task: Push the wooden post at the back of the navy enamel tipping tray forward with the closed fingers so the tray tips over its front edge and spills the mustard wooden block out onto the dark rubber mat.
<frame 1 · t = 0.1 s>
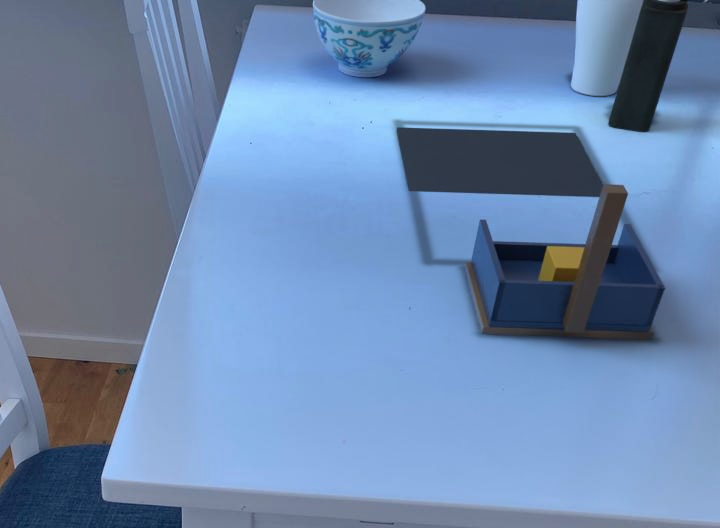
tray: (576, 232, 81), point 8 cm above the table, hinge at 0.0°, touching block, stand
cup: (592, 90, 127), on the table
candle: (629, 124, 119), on the table
chinaware: (362, 70, 131), on the table
block: (561, 300, 84), point 2 cm above the table, touching tray
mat: (508, 195, 104), on the table
stand: (551, 311, 87), on the table
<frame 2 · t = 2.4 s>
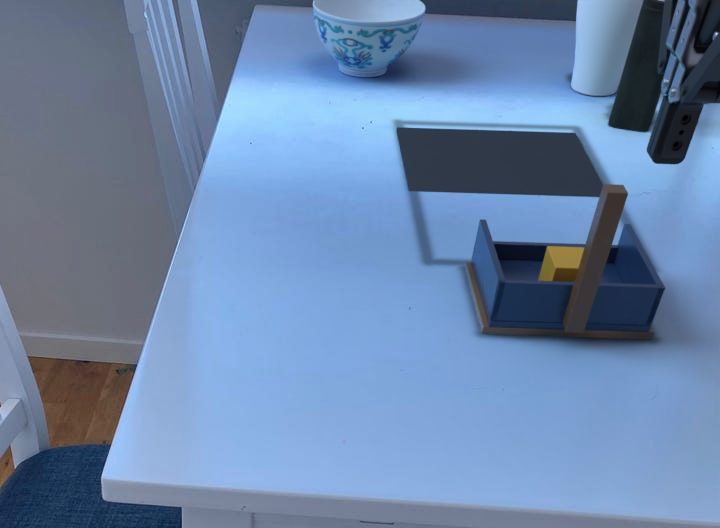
hand: (663, 159, 64), 19 cm above the table, tool pointing down, fingers closed
nothing on the table moved.
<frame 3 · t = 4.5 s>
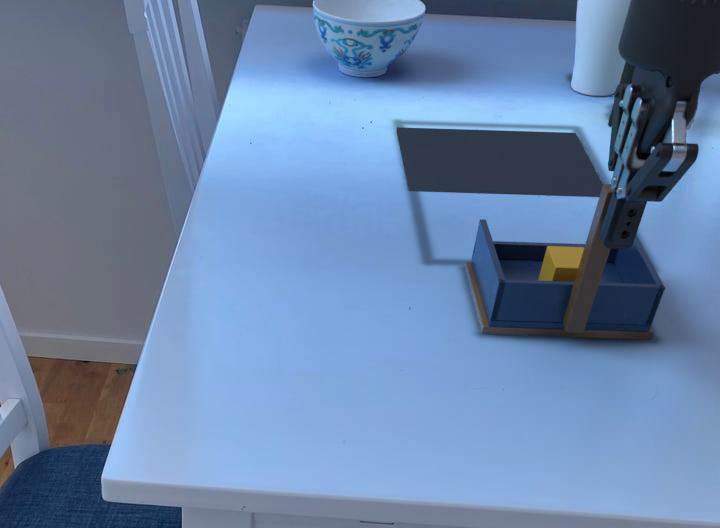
hand: (614, 243, 73), 11 cm above the table, tool pointing down, fingers closed
tray: (576, 232, 81), point 8 cm above the table, hinge at 0.1°, touching block, gripper, stand
everything else where it was.
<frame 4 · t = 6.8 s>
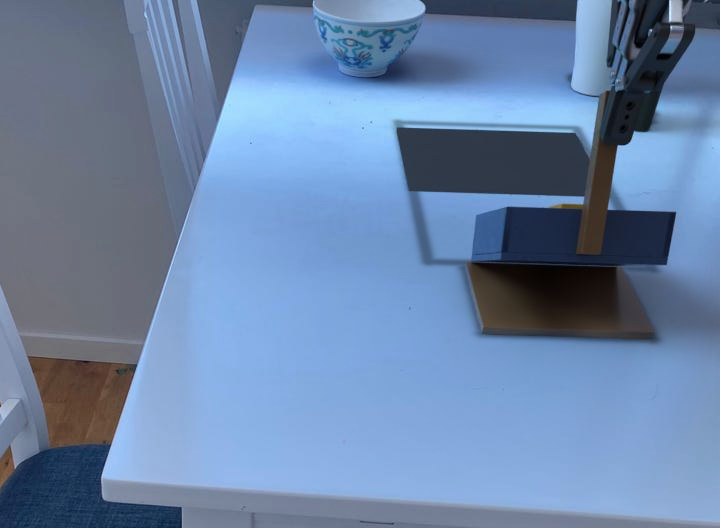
hand: (613, 141, 74), 16 cm above the table, tool pointing down, fingers closed
tray: (576, 186, 82), point 10 cm above the table, hinge at 27.0°, touching block, gripper, stand
block: (570, 255, 83), point 6 cm above the table, tilted 27°, touching tray
everything else where it was.
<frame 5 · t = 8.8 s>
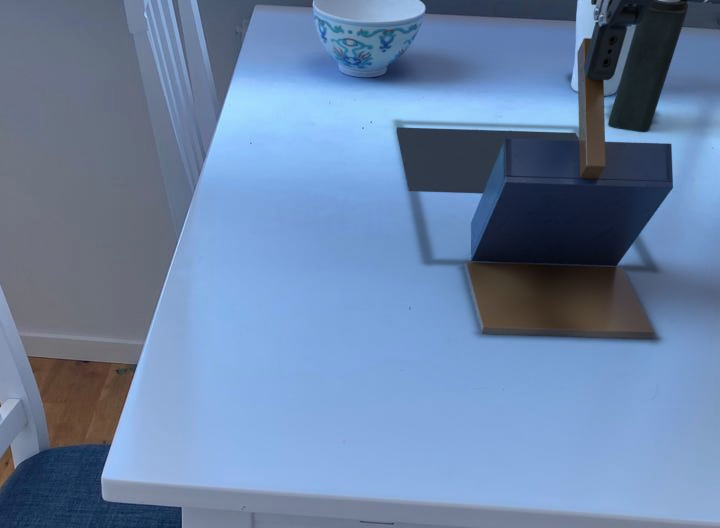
hand: (597, 76, 78), 18 cm above the table, tool pointing down, fingers closed
tray: (566, 158, 84), point 11 cm above the table, hinge at 57.0°, touching gripper
block: (530, 217, 95), point 2 cm above the table, tilted 90°, touching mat
everything else where it was.
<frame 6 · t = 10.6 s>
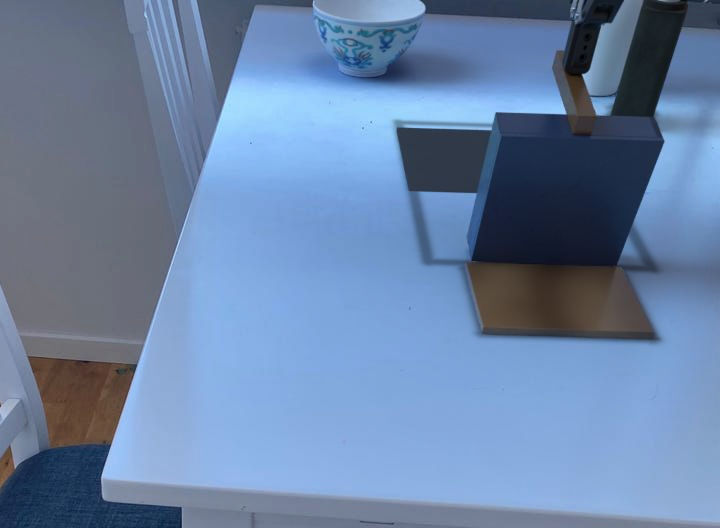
hand: (574, 70, 84), 16 cm above the table, tool pointing down, fingers closed
tray: (554, 159, 88), point 9 cm above the table, hinge at 82.5°, touching gripper
everything else where it was.
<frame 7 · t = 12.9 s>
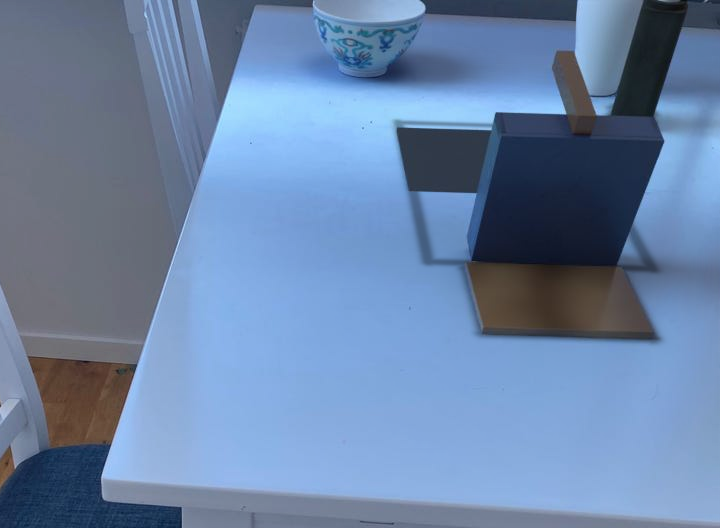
tray: (554, 159, 88), point 9 cm above the table, hinge at 82.6°
everything else where it was.
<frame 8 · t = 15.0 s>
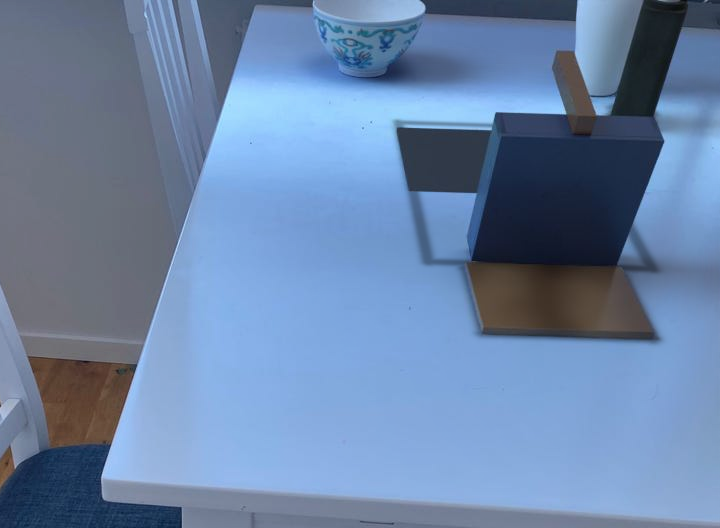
nothing on the table moved.
at the end: block inside the target area on the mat (10.8 cm from its centre), point 2.4 cm above the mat's base; tray at +83° (first picture: +0°) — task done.
